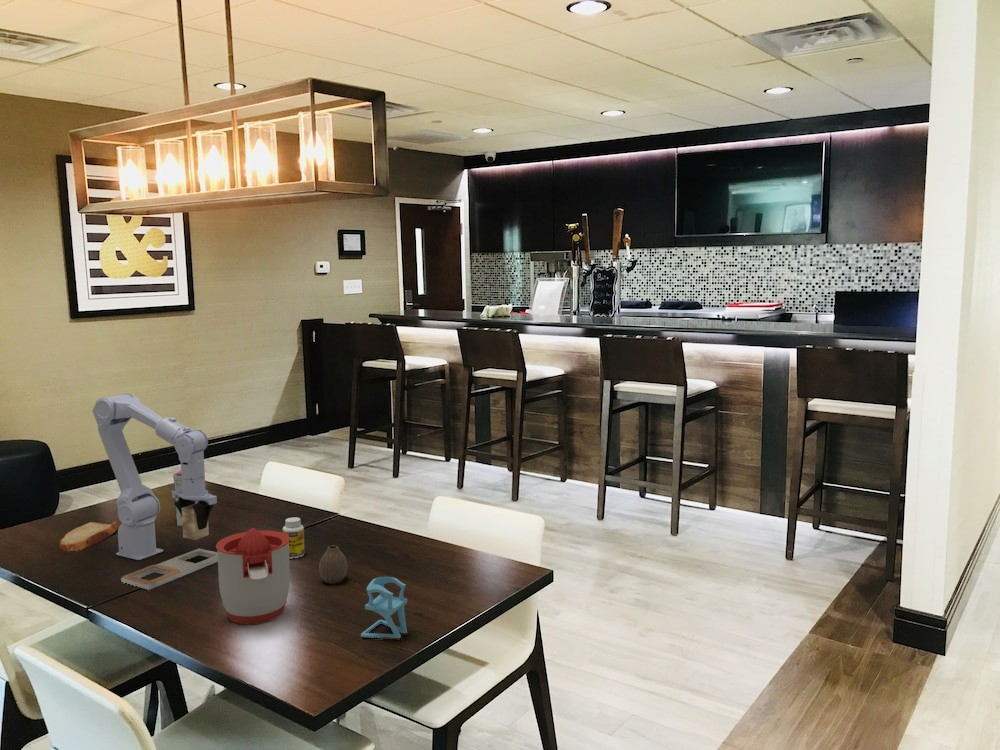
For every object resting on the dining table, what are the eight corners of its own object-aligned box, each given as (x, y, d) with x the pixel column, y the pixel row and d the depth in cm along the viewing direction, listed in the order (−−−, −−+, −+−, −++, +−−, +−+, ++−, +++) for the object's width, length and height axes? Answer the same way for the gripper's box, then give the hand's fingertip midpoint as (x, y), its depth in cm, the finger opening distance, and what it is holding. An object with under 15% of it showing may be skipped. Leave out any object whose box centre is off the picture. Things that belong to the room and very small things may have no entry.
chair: (394, 645, 159) (394, 589, 157) (359, 638, 162) (359, 583, 161) (413, 630, 166) (412, 576, 164) (379, 623, 169) (378, 570, 168)
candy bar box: (190, 515, 247) (187, 465, 245) (205, 515, 247) (203, 465, 245) (175, 526, 236) (172, 473, 234) (191, 526, 236) (189, 473, 234)
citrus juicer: (222, 638, 162) (218, 546, 159) (216, 607, 178) (212, 522, 175) (298, 625, 168) (295, 536, 166) (286, 596, 184) (283, 514, 181)
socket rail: (121, 582, 192) (121, 576, 192) (199, 552, 213) (198, 547, 213) (148, 589, 187) (148, 584, 187) (225, 558, 209) (225, 553, 208)
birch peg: (183, 537, 205) (181, 507, 204) (196, 532, 209) (195, 503, 208) (195, 539, 203) (193, 510, 202) (208, 534, 207) (207, 505, 206)
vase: (352, 577, 195) (352, 543, 194) (338, 587, 189) (337, 553, 188) (328, 574, 197) (328, 540, 196) (314, 584, 191) (313, 549, 190)
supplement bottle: (287, 561, 207) (285, 523, 206) (280, 554, 211) (279, 518, 210) (307, 556, 210) (306, 520, 209) (300, 550, 214) (299, 515, 213)
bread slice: (64, 555, 213) (63, 541, 212) (49, 539, 226) (48, 526, 225) (133, 540, 224) (133, 527, 224) (115, 526, 238) (114, 514, 237)
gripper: (224, 476, 204) (227, 526, 206) (186, 470, 211) (188, 519, 212) (203, 483, 198) (206, 534, 199) (164, 476, 204) (167, 526, 206)
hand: (195, 527), depth 205 cm, fingers closed on birch peg, 4 cm apart
